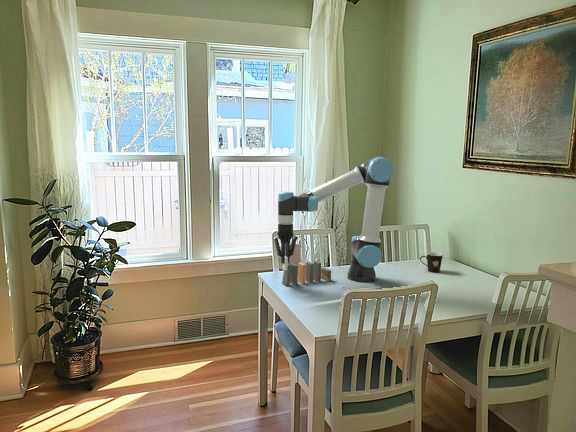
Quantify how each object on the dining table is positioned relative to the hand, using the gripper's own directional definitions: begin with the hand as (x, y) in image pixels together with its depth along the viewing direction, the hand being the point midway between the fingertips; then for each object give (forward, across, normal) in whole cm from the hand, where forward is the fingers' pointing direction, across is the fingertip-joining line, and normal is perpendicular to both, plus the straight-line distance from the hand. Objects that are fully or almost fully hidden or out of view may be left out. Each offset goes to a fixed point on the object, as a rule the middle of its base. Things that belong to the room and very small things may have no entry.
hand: (285, 269), depth 217 cm
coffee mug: (+8, -89, +8) cm, 90 cm away
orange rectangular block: (+8, -9, 0) cm, 12 cm away
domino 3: (+8, -14, 0) cm, 16 cm away
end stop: (+8, -24, 0) cm, 25 cm away
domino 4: (+8, -18, 0) cm, 20 cm away
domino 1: (+8, 0, 0) cm, 8 cm away
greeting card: (+8, -15, -21) cm, 27 cm away
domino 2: (+8, -5, 0) cm, 9 cm away
